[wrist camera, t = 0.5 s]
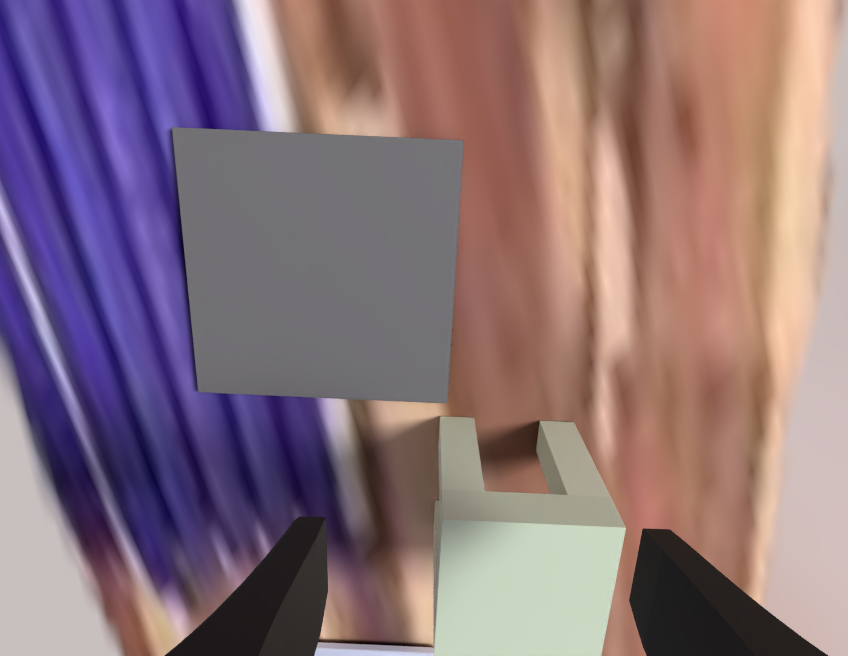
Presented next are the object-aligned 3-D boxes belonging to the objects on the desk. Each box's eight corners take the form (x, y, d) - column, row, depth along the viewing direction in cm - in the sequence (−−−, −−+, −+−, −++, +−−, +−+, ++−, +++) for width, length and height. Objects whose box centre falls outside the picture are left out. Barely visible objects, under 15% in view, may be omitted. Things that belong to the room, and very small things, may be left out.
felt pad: (447, 399, 22) (447, 403, 22) (201, 389, 22) (198, 392, 22) (463, 140, 19) (463, 140, 19) (175, 127, 19) (171, 127, 19)
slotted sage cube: (557, 532, 25) (599, 665, 18) (433, 526, 25) (433, 657, 18) (573, 422, 23) (625, 527, 17) (440, 416, 23) (442, 519, 17)
